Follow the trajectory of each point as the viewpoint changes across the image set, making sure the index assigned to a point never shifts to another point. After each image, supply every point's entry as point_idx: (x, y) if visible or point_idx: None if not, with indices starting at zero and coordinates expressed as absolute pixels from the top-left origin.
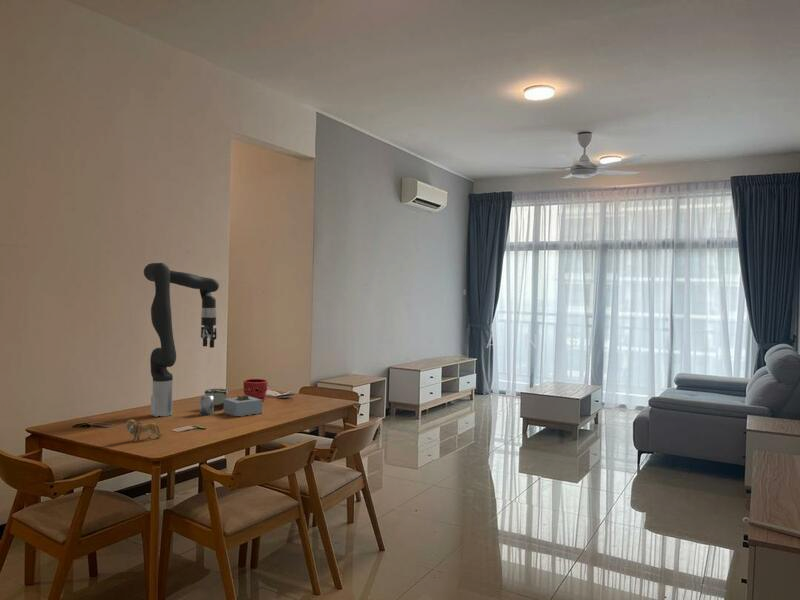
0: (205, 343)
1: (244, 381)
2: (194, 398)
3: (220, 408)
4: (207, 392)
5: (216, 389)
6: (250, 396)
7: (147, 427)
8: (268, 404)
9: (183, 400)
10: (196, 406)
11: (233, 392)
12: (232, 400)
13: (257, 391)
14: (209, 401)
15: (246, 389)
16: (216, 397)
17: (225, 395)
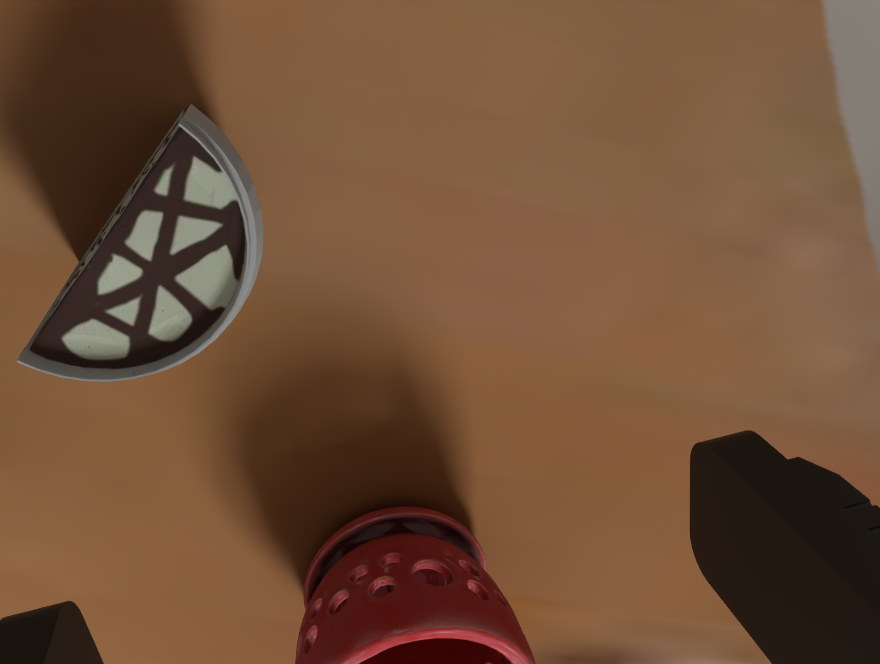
0: (758, 577)
1: (423, 628)
2: (822, 140)
3: (100, 233)
4: (169, 144)
5: (241, 280)
6: (334, 567)
7: None
8: (195, 639)
9: (790, 10)
10: (392, 44)
11: (867, 489)
12: None
13: (473, 648)
14: None
15: (362, 583)
16: (107, 229)
17: (37, 329)
